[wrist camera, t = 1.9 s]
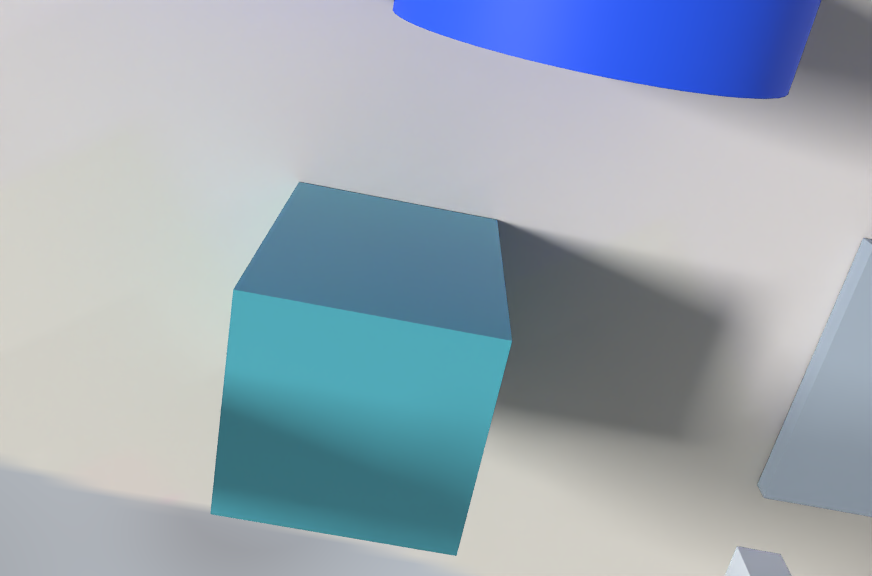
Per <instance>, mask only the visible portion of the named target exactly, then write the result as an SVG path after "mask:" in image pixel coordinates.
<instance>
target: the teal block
mask: <svg viewBox="0 0 872 576" xmlns="http://www.w3.org/2000/svg"><path fill="white" fill-rule="evenodd" d="M511 343H512V336H511V328H510V320H509V312H508V303H507V295H506V287H505V279H504V271H503V263H502V255H501V247H500V239H499V231H498V223H497V220H495V219H490V218H484V217H479V216H474V215H469V214H464V213H458V212H453V211H448V210H443V209H438V208H432V207H427V206H422V205H417V204H411V203H406V202H401V201H396V200H391V199H385V198H380V197H375V196H370V195H365V194H359V193H354V192H349V191H344V190H339V189H333V188H328V187H323V186H318V185H313V184H307V183H302V182H299V183H298V185H297V186H296V188H295V190H294V191H293V193H292V195H291V196H290V198H289V199H288V201H287V203H286V204H285V206H284V208H283V209H282V211H281V213H280V214H279V216H278V217H277V219H276V221H275V222H274V224H273V226H272V227H271V229H270V231H269V232H268V234H267V235H266V237H265V239H264V240H263V242H262V244H261V245H260V247H259V249H258V250H257V252H256V253H255V255H254V257H253V258H252V260H251V262H250V263H249V265H248V267H247V268H246V270H245V271H244V273H243V275H242V276H241V278H240V280H239V281H238V283H237V285H236V286H235V288H234V289H233V299H232V308H231V318H230V328H229V338H228V348H227V357H226V367H225V377H224V387H223V396H222V406H221V416H220V426H219V436H218V445H217V455H216V465H215V475H214V485H213V494H212V504H211V514H213V515H219V516H225V517H231V518H237V519H243V520H249V521H254V522H260V523H266V524H272V525H278V526H284V527H290V528H296V529H302V530H307V531H313V532H319V533H325V534H331V535H337V536H343V537H349V538H355V539H360V540H366V541H372V542H378V543H384V544H390V545H396V546H402V547H408V548H413V549H419V550H425V551H431V552H437V553H443V554H449V555H455V556H456V555H457V551H458V548H459V544H460V540H461V536H462V532H463V528H464V524H465V521H466V517H467V513H468V509H469V505H470V501H471V497H472V494H473V490H474V486H475V482H476V478H477V474H478V471H479V467H480V463H481V459H482V455H483V451H484V447H485V444H486V440H487V436H488V432H489V428H490V424H491V420H492V417H493V413H494V409H495V405H496V401H497V397H498V393H499V390H500V386H501V382H502V378H503V374H504V370H505V367H506V363H507V359H508V355H509V351H510V347H511Z"/></svg>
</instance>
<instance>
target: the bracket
mask: <svg viewBox="0 0 872 576" xmlns="http://www.w3.org/2000/svg"><path fill="white" fill-rule="evenodd" d="M820 2H821V0H394V6H393V11H394V13H395V14H397V15H398V16H399V17H401V18H403V19H404V20H406V21H408V22H410V23H412V24H415V25H417V26H419V27H422V28H424V29H427V30H429V31H432V32H435V33H438V34H441V35H444V36H447V37H450V38H453V39H456V40H459V41H462V42H465V43H469V44H472V45H475V46H479V47H482V48H486V49H489V50H493V51H497V52H500V53H504V54H508V55H511V56H515V57H519V58H523V59H527V60H531V61H535V62H539V63H543V64H548V65H552V66H556V67H560V68H565V69H569V70H574V71H578V72H583V73H588V74H592V75H597V76H602V77H607V78H612V79H617V80H622V81H628V82H633V83H638V84H644V85H650V86H655V87H661V88H667V89H674V90H680V91H687V92H694V93H701V94H709V95H718V96H726V97H738V98H754V99H772V98H780V97H785V96H786V95H788V93H789V90H790V87H791V84H792V82H793V79H794V76H795V73H796V70H797V67H798V65H799V62H800V59H801V56H802V53H803V50H804V48H805V45H806V42H807V39H808V36H809V33H810V31H811V28H812V25H813V22H814V19H815V17H816V14H817V11H818V8H819V5H820Z"/></svg>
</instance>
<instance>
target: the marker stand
mask: <svg viewBox="0 0 872 576" xmlns="http://www.w3.org/2000/svg"><path fill="white" fill-rule="evenodd" d="M757 486H758V487H759V489H760V491H761V493H762V495H763V497H764V498H768V499H773V500H779V501H785V502H790V503H796V504H802V505H807V506H813V507H819V508H824V509H830V510H836V511H841V512H847V513H853V514H858V515H864V516H869V517H872V240H871V239H866V238H863V240H862V242H861V245H860V247H859V249H858V252H857V254H856V256H855V259H854V261H853V263H852V266H851V268H850V270H849V273H848V275H847V277H846V280H845V282H844V284H843V287H842V289H841V291H840V294H839V296H838V298H837V301H836V303H835V305H834V308H833V310H832V312H831V315H830V317H829V319H828V322H827V324H826V326H825V329H824V331H823V333H822V336H821V338H820V340H819V342H818V345H817V347H816V349H815V352H814V354H813V356H812V359H811V361H810V363H809V366H808V368H807V370H806V373H805V375H804V377H803V380H802V382H801V384H800V387H799V389H798V391H797V394H796V396H795V398H794V401H793V403H792V405H791V408H790V410H789V412H788V415H787V417H786V419H785V422H784V424H783V426H782V429H781V431H780V433H779V436H778V438H777V440H776V443H775V445H774V447H773V449H772V452H771V454H770V456H769V459H768V461H767V463H766V466H765V468H764V470H763V473H762V475H761V477H760V480H759V482H758V484H757Z"/></svg>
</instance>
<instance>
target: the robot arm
mask: <svg viewBox="0 0 872 576" xmlns="http://www.w3.org/2000/svg"><path fill="white" fill-rule="evenodd" d="M725 576H792V575H791V573H790V572H789V570H788V568H787V566H786V564H785V562H784V560H783V558H782V556H781V554H777V553H772V552H766V551H760V550H755V549H749V548H744V547H738V546H737V548H736V550H735V553H734V555H733V557H732V560H731V562H730V564H729V567H728V569H727V572H726V574H725Z"/></svg>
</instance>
